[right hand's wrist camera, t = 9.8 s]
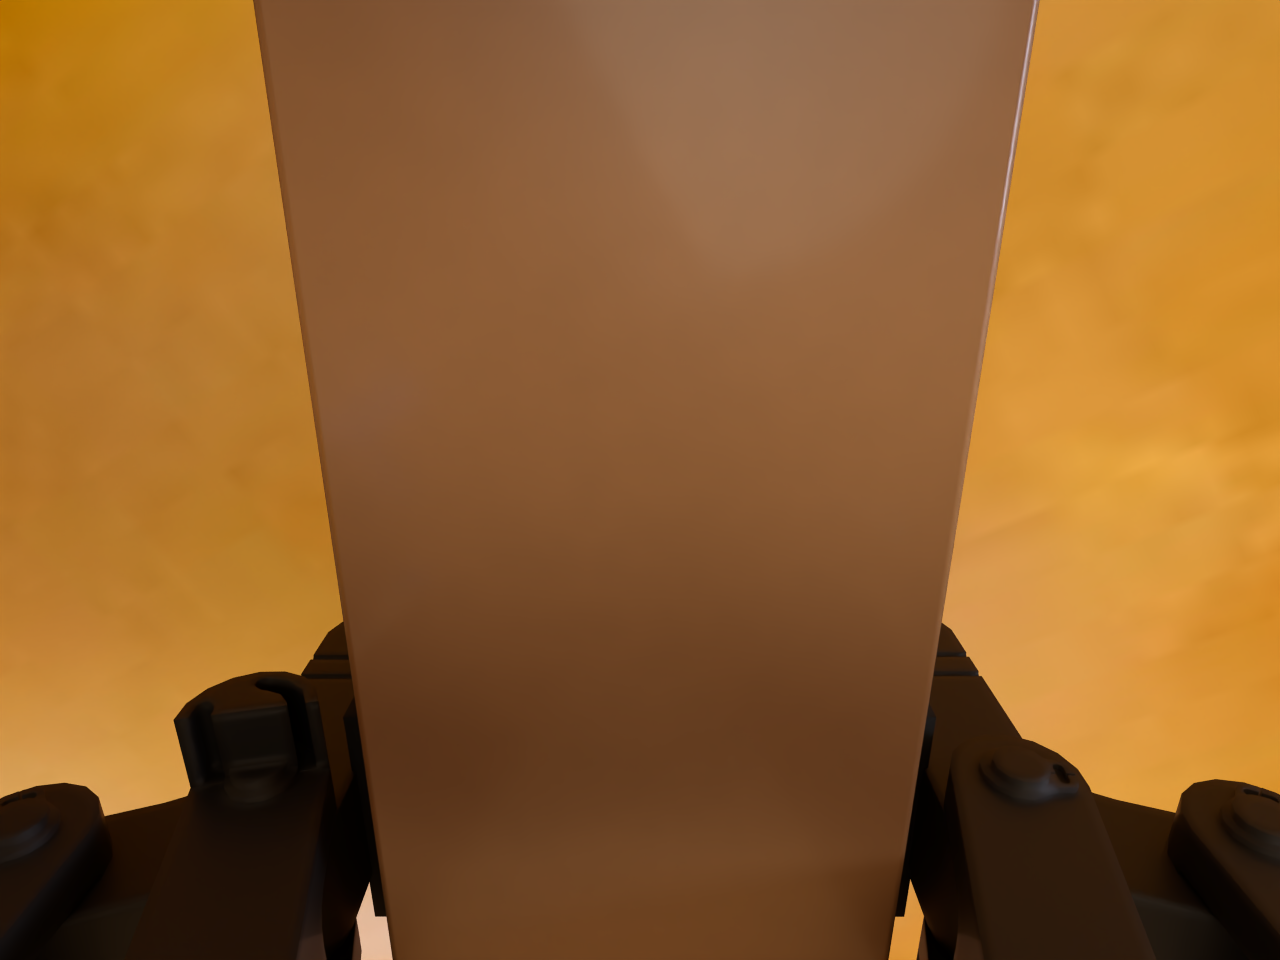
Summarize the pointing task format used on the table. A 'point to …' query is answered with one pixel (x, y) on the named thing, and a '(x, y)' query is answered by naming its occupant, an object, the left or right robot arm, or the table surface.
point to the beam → (643, 443)
